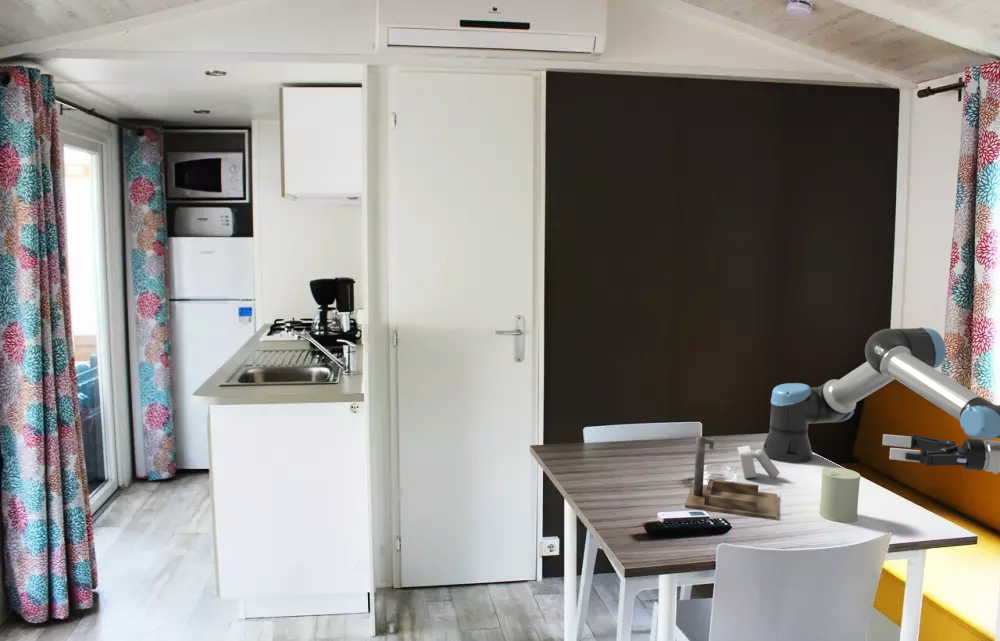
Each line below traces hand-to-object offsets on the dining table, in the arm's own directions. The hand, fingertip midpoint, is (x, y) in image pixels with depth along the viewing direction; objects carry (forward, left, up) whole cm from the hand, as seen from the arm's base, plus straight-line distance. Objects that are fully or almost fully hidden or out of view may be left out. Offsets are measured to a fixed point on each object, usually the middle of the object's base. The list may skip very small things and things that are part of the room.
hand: (886, 446), depth 195 cm
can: (+6, -8, -20) cm, 22 cm away
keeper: (+20, -29, -20) cm, 41 cm away
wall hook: (-4, -39, -20) cm, 44 cm away
